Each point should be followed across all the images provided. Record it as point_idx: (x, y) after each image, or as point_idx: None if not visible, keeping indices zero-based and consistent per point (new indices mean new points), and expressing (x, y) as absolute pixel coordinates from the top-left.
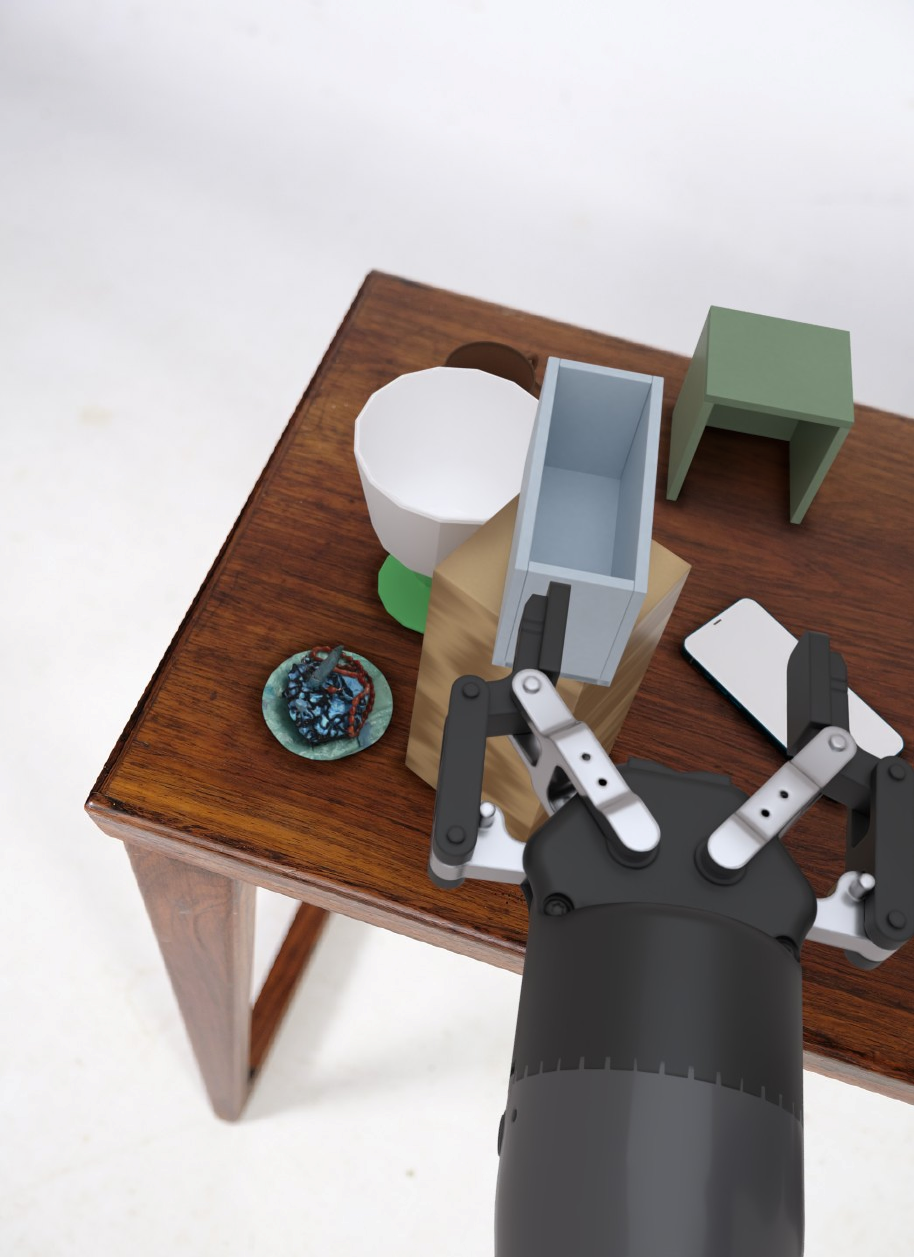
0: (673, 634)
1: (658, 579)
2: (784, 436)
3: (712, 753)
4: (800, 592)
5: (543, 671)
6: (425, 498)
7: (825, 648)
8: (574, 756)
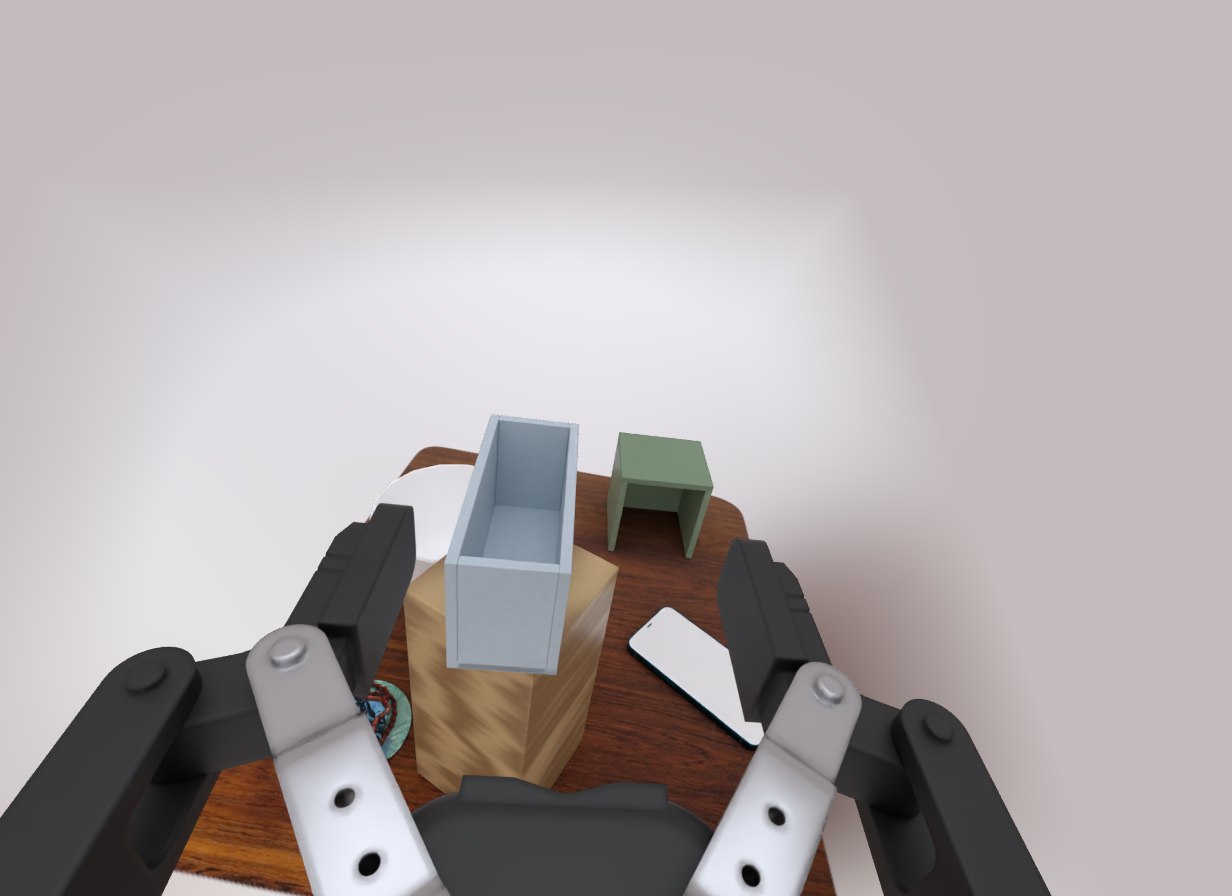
0: (621, 637)
1: (593, 579)
2: (673, 509)
3: (659, 724)
4: (699, 600)
5: (328, 628)
6: (438, 558)
7: (765, 556)
8: (313, 801)
